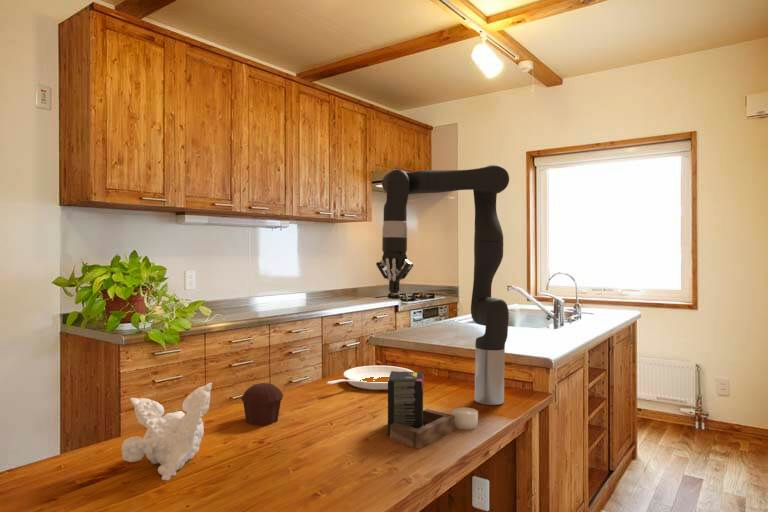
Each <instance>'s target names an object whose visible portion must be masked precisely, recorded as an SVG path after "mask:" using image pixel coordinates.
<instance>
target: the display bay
mask: <svg viewBox="0 0 768 512" xmlns="http://www.w3.org/2000/svg"><path fill="white" fill-rule="evenodd" d="M424 425H425V426H424ZM455 431H456V428H455V415H452V414H450V413H445V412H442V411H441V412H440V411H437V410H433V409H429V408H425V409H423V426H422V427H420V428H418V429H417V428H413V427H409V426H405V425H402V424H398V423H393V424H391V425H390V435H389V441H390V440H391V442H393V441H394V443H397V444H401V445H405V446H407V447H411V448H414V449H418V450H421V449H423V448H424V447H427V446H428V445H430V444H432V443H435V442H436V441H438V440H440V439H442V438H443V437H446V436H448V435H449V434H451V433H453V432H455Z"/></svg>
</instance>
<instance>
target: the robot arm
mask: <svg viewBox="0 0 768 512" xmlns="http://www.w3.org/2000/svg"><path fill="white" fill-rule="evenodd" d="M509 182H510V174H509V172H508V170H506V168H505V167H503V166H501V165H498V164H489V165H487V166H483V167H479V168H471V169H470V168H469V169H427V170H426V169H423V170H417V171H412V172H410V171H409V172H408V171H407V172H405V170H403V169H400V168H399V169H394V170H391V171H389V172H388V173H386V174H385V175H384V177H382V180H381V187H382V189H383V191H384V192H385V193H386V201H385V203H384V206H383V222H382V223H383V224H382V234H381V235H382V244H381V245H382V248H381V249H382V252H383V254H382V256H381V260H380V261H378V262H376V263H375V265H376V267H377V269H378V270H379V272H380V273H381V275H382V277H383V279H386V280H387V281H388V291H389V293H390V294H398V293H399V291H400V281H401V280H404V279H405V278H406V277H407V276H408V274H410V271H411V270H412V268H413V267H414V263H413V262H410V261H409V260H408V257H407V254H406V253H407V251H408V225H407V216H408V215H407V205H408V201H409V200H408V199H409V194H438V193H440V194H441V193H448V192H455V191H466V190H467V191H470V190H471V191H473V201H474V235H473V236H474V237H473V238H474V239H473V255H474V256H473V257H474V259H473V282H472V283H473V284H472V293H471V303H470V314H471V316H470V317H471V318H472V321H473V322H474V323H475V324H476V325H477V324H478V325H479V326H485V329H484V330H485V331H484V334H483V335H482V336H478V337H476V339H475V342H474V343H475V347H474V351H475V353H474V354H475V355H474V357H475V358H474V362H475V363H474V401H475V403H478V404H480V405H485V406H499V405H502V404H504V403H505V354H506V351H505V349H506V341H507V339H508V334H509V333H508V330H509V317H510V314H509V313H510V312H509V308H508V305H507V302H506V301H505V300H503V299H500V298H496V297H492V283H493V279H494V278H495V275H496V273H497V272H498V270H499V267H500V265H501V264H502V261H503V258H504V233H503V230H502V226H501V223H500V221H499V217H498V213H497V195H498V194H500V193H502V192H504V190H506V188H507V187H508V186H509Z"/></svg>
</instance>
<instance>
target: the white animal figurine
mask: <svg viewBox="0 0 768 512" xmlns="http://www.w3.org/2000/svg"><path fill="white" fill-rule="evenodd" d="M212 386H213V382H208V383H207V384H205V385H202V386H200V387H197V388H196V389H193V391H192V392H191V393H189V395H187V396H186V397H185V399H184V400H183V403H182V410H183V411H184V412H183V411H182V410H177V411H175V412H167V413H166V414H165V408H164V406H163V405H162V403H159V402H158V401H156V400H153V399H152V400H151V399H150V398H144V397H141V398H138V397H137V398H136V397H131V398H129V400H130V402H131V404H132V405H133V408H134V413H135V416H136V418H137V422H138V423H139V424H140V425H142V426H144V427H145V428H146V432H145V434H144V436H143V437H141V436H138V435H136V436H130V437H129V438H126V439H125V440H123V441H122V444H121V455H122V460H124V461H126V462H128V463H134V462H139V461H140V460H142V459H143V458H144V457H145V456H146V458H147V460H148V461H149V462H150V463H151V464H153V465H157V464H159V465H160V466H158V468H157V472H158V474H160V475H161V480H162V481H170V480H171V479H172V477H174V476H176V475H177V471H178V470H180V469H182V468H183V466H184V465H185V464H186V463H187V462H189V460H192V459H193V458H194V457H195V455H196V454H197V453H198V452H199V451H200V445H201V443H202V441H203V439H202V438H203V437H204V434H205V432H204V429H205V428H204V427H205V426H204V423H203V419H202V418H203V416H204V415H205V414H207V412H208V411H209V410H210V402H211V391H212ZM185 412H186V413H185ZM162 416H163V417H162Z"/></svg>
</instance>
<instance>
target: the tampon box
mask: <svg viewBox="0 0 768 512" xmlns="http://www.w3.org/2000/svg"><path fill="white" fill-rule="evenodd" d="M423 410H424V372H423V371H422V372H421V371H420V372H419V371H418V372H417V371H413V372H397V371H391V373H390V376H389V379H388V390H387V436H390V425H391V424H393V423H398V424H402V425H405V426H409V427H413V428H417V429H418V428H420V427H422V426H424V425H423Z"/></svg>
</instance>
